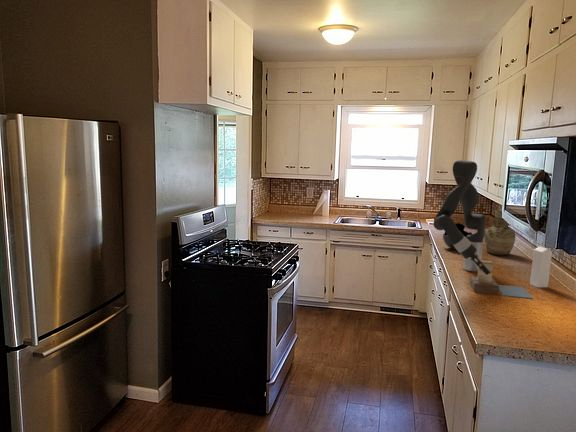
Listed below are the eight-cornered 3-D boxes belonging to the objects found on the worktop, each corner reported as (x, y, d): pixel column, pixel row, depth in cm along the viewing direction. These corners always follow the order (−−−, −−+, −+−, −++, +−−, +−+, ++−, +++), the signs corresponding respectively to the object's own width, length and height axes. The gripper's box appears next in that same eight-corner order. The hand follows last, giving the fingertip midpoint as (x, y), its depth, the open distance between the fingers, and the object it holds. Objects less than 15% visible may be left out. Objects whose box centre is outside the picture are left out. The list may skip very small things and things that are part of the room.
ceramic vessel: (485, 248, 322) (490, 208, 317) (516, 254, 307) (521, 211, 303) (476, 252, 308) (480, 210, 303) (508, 258, 294) (513, 213, 289)
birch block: (477, 279, 225) (478, 260, 223) (489, 280, 223) (491, 261, 222) (478, 281, 221) (480, 262, 219) (491, 282, 219) (493, 263, 218)
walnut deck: (469, 283, 231) (470, 275, 230) (492, 285, 228) (492, 278, 228) (473, 291, 217) (474, 283, 216) (498, 294, 214) (498, 286, 213)
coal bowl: (466, 247, 324) (469, 222, 321) (475, 253, 304) (478, 226, 301) (438, 246, 326) (441, 220, 323) (445, 251, 306) (448, 225, 303)
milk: (539, 284, 235) (544, 243, 232) (547, 287, 229) (553, 246, 226) (529, 284, 234) (534, 243, 231) (537, 287, 228) (542, 246, 225)
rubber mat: (495, 285, 229) (495, 284, 229) (522, 288, 226) (522, 287, 226) (503, 295, 212) (503, 294, 212) (532, 298, 209) (532, 298, 209)
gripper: (473, 245, 214) (496, 270, 213) (468, 239, 228) (490, 263, 227) (460, 254, 216) (483, 279, 215) (457, 248, 230) (478, 272, 229)
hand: (486, 271), depth 221 cm, fingers open, 8 cm apart
